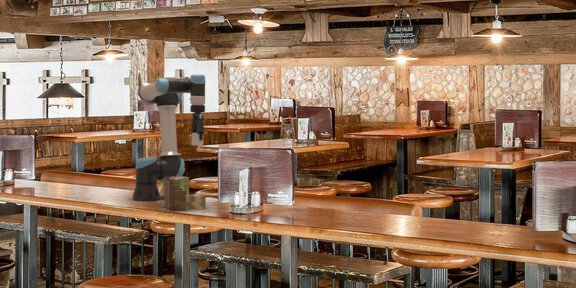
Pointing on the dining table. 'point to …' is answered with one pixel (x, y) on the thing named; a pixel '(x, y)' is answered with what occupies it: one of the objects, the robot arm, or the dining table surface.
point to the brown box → (174, 196)
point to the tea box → (177, 186)
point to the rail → (195, 202)
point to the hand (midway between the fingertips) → (197, 146)
